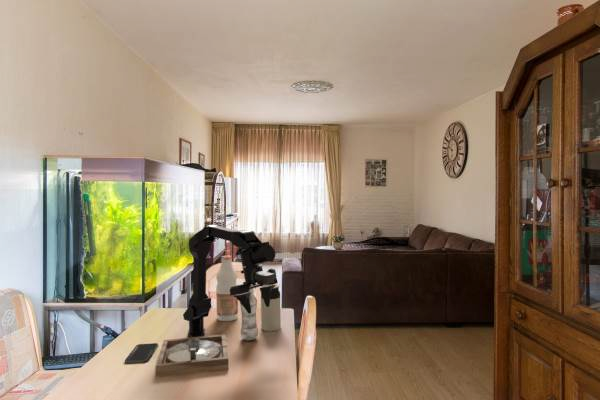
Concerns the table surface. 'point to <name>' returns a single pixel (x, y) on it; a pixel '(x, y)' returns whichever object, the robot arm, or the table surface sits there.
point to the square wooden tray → (194, 365)
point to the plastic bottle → (249, 320)
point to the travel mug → (271, 311)
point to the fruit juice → (226, 291)
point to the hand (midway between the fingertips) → (259, 310)
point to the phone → (141, 353)
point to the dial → (193, 350)
